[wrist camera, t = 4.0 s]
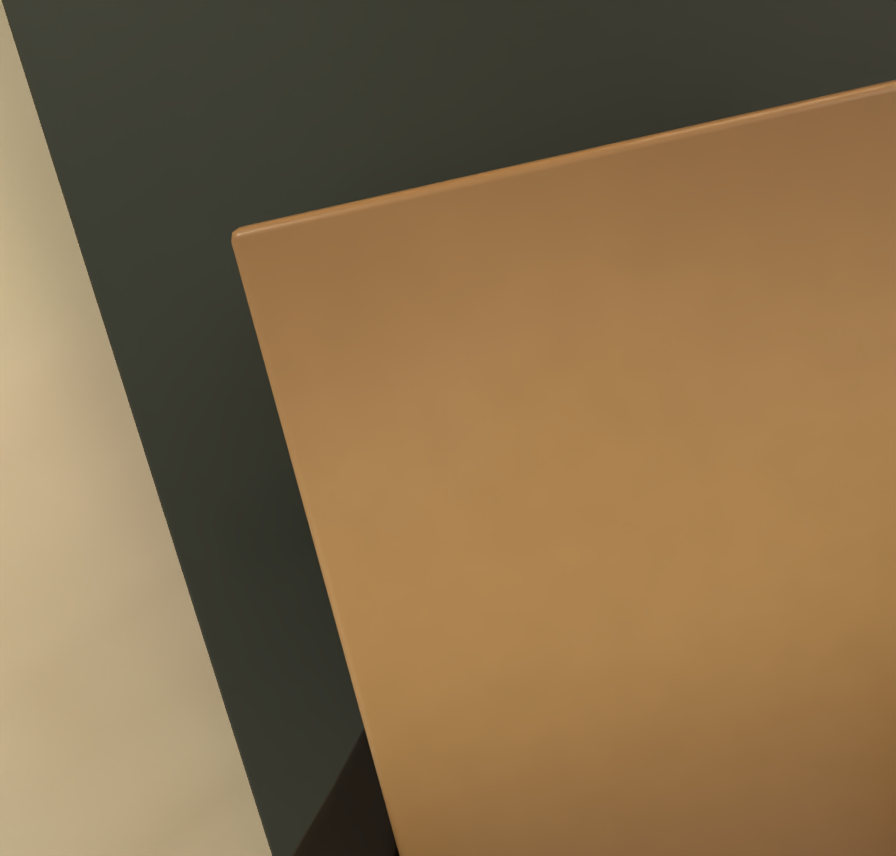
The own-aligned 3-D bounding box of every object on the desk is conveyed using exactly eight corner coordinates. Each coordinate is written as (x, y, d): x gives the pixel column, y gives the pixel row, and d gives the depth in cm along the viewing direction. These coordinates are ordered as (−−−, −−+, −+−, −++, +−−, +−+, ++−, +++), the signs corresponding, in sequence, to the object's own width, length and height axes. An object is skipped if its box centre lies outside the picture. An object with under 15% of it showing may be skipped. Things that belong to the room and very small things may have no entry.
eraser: (880, 1018, 11) (1138, 1452, 7) (528, 1093, 12) (592, 1566, 7) (778, 124, 9) (1107, 31, 5) (313, 230, 9) (225, 230, 5)
